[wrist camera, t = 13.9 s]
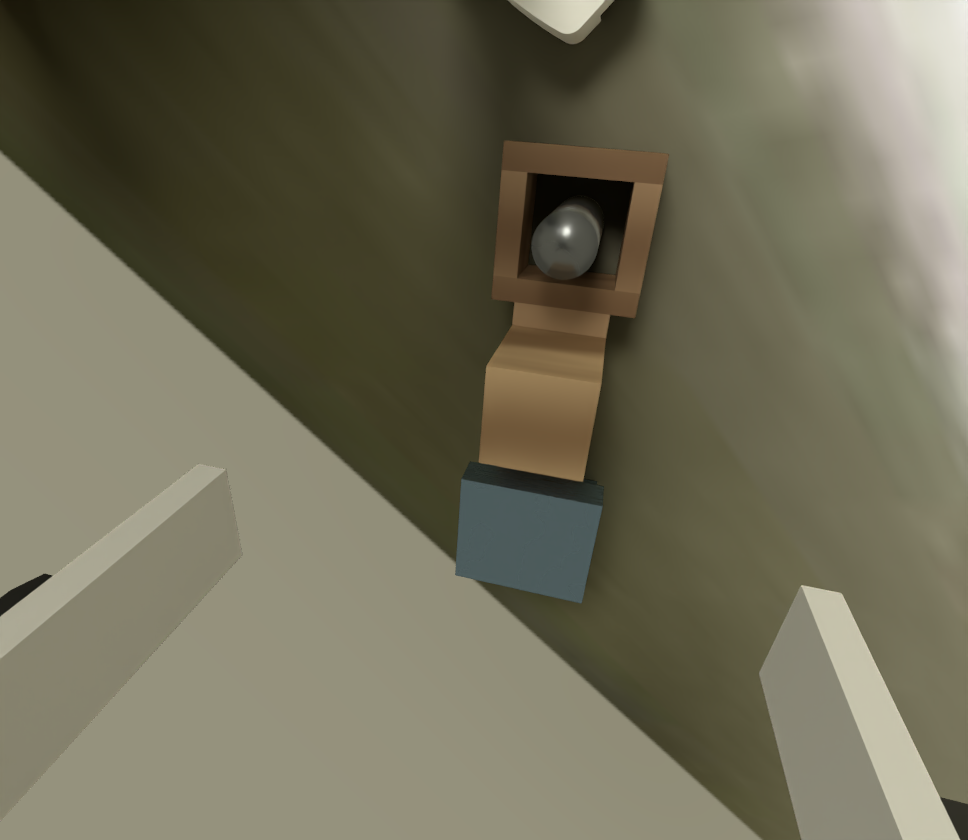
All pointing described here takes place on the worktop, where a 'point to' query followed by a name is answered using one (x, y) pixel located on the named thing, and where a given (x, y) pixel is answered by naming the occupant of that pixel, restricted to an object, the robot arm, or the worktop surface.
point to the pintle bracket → (528, 496)
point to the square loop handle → (558, 312)
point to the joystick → (564, 16)
